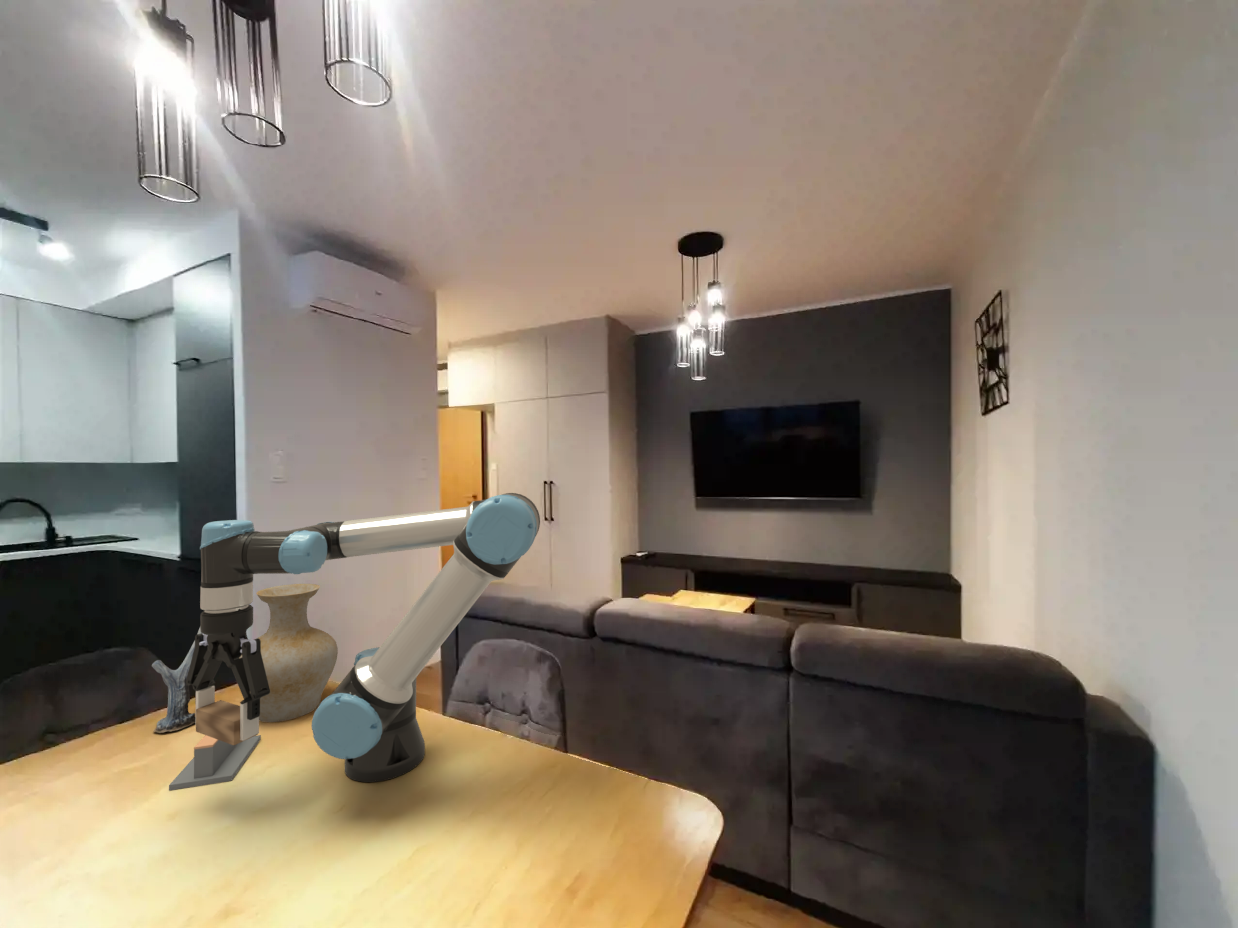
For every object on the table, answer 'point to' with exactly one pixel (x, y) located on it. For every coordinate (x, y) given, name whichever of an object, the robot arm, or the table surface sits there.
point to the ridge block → (214, 762)
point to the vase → (293, 654)
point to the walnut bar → (220, 721)
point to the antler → (176, 695)
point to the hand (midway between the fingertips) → (226, 730)
